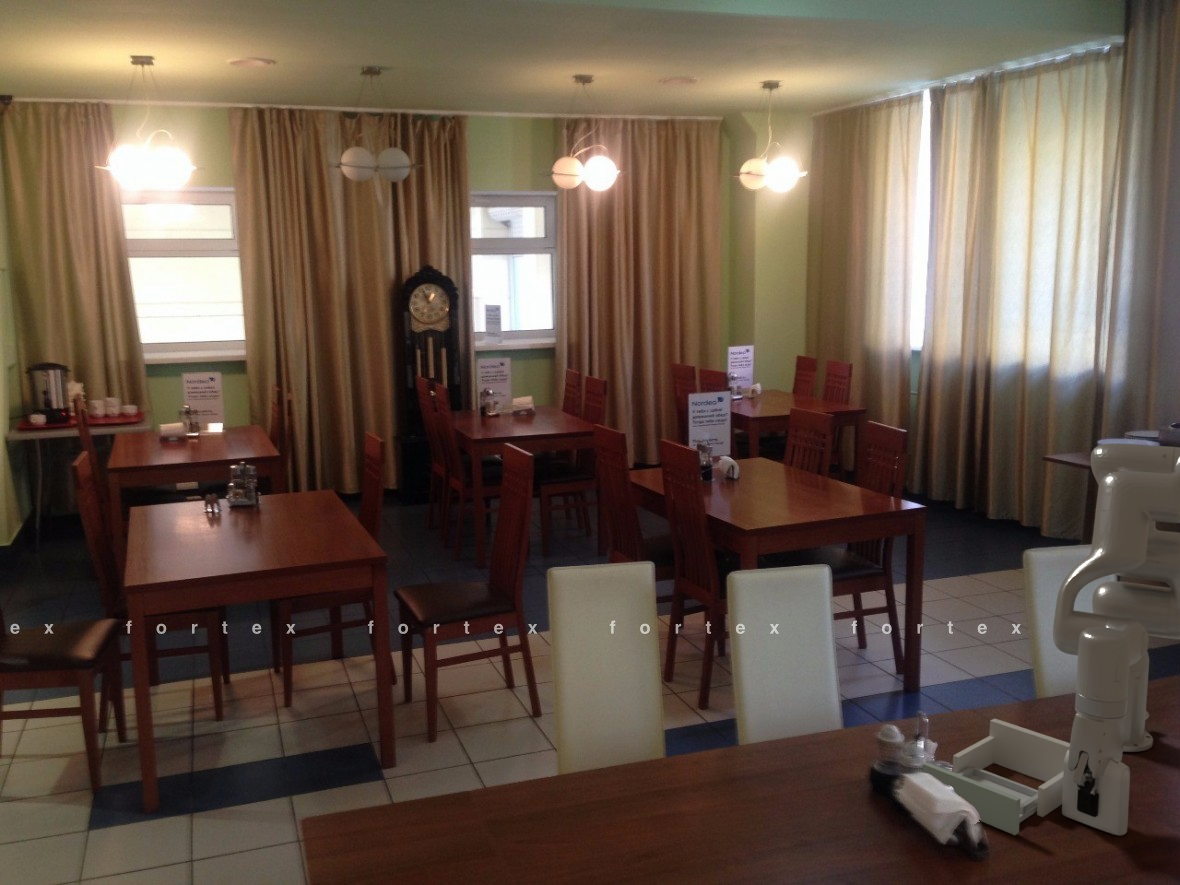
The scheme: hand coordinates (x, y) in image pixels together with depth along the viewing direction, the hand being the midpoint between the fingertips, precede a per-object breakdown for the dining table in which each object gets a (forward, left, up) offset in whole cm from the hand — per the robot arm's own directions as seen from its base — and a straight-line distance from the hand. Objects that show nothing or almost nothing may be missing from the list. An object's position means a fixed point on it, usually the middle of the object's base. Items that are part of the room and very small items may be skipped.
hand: (1094, 807), depth 170 cm
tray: (+7, -15, -3) cm, 17 cm away
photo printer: (0, 0, -3) cm, 3 cm away
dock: (-3, -15, -3) cm, 15 cm away
